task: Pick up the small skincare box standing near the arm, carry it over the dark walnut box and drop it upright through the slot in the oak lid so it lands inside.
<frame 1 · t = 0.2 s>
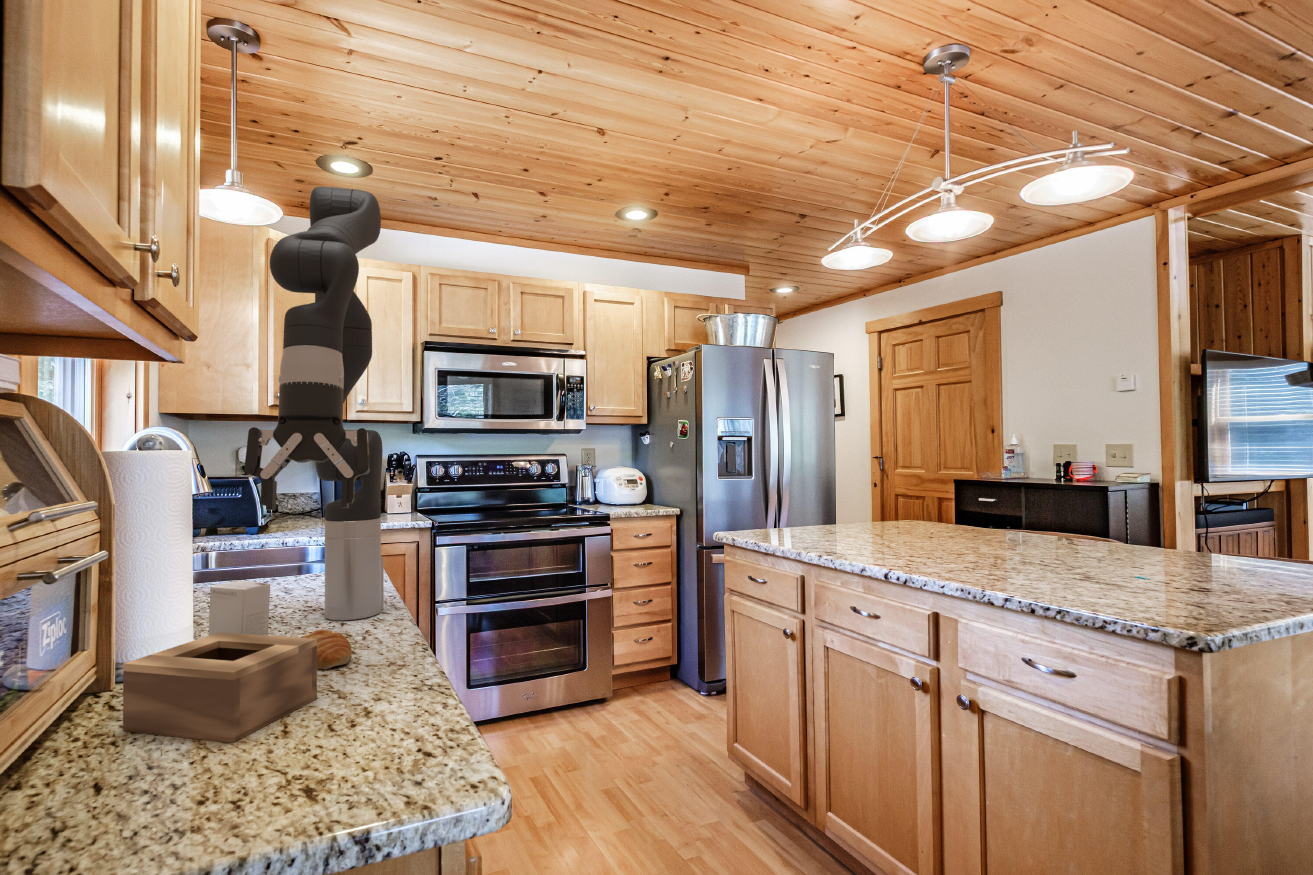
hand: (308, 508, 85), 22 cm above the countertop, fingers open, 8 cm apart
pastry: (326, 662, 94), on the countertop
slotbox: (225, 713, 75), on the countertop
skincare box: (238, 677, 88), on the countertop
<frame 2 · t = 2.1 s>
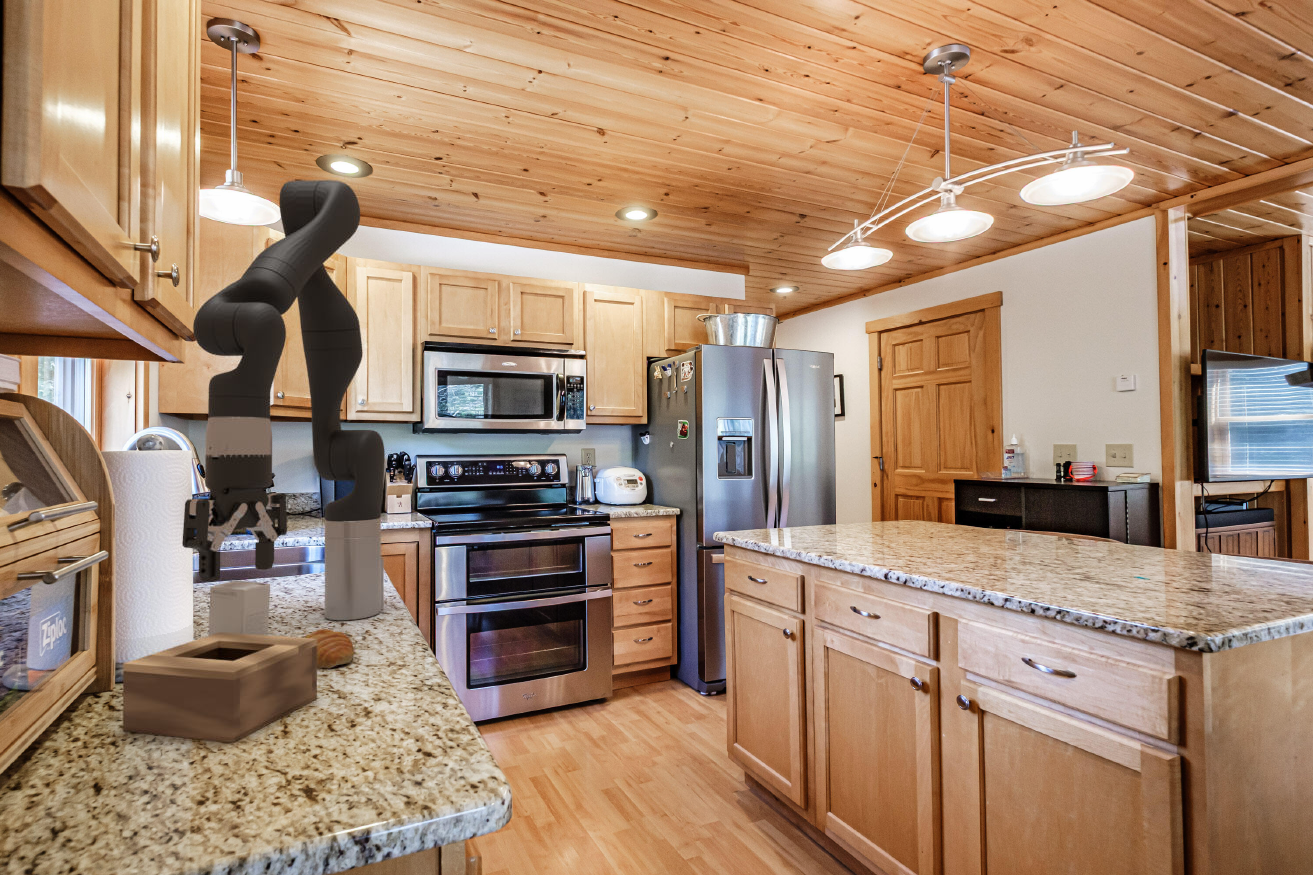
hand: (238, 574, 88), 13 cm above the countertop, fingers open, 8 cm apart
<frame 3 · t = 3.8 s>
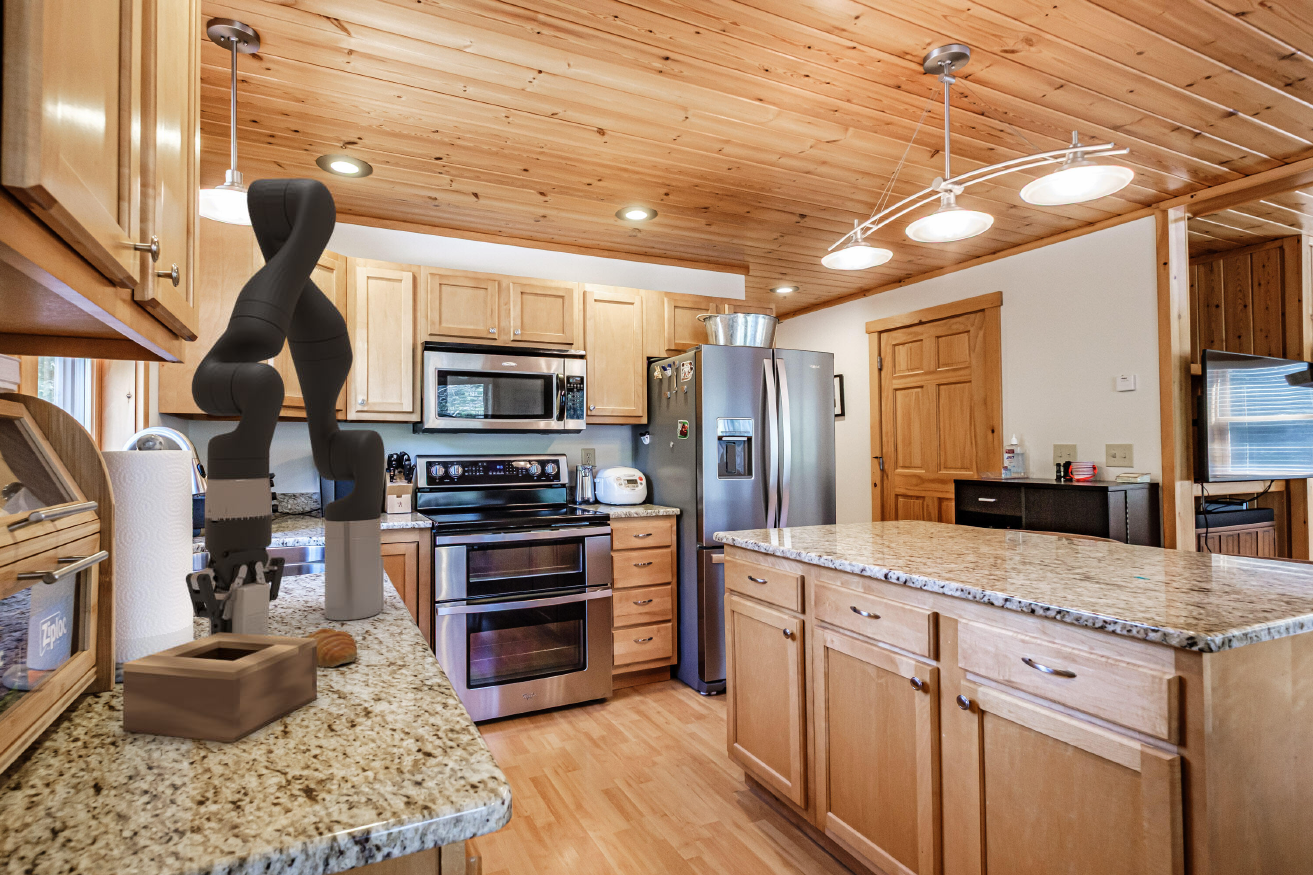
hand: (238, 641, 88), 5 cm above the countertop, fingers closed on skincare box, 4 cm apart
skincare box: (238, 676, 88), on the countertop, touching gripper
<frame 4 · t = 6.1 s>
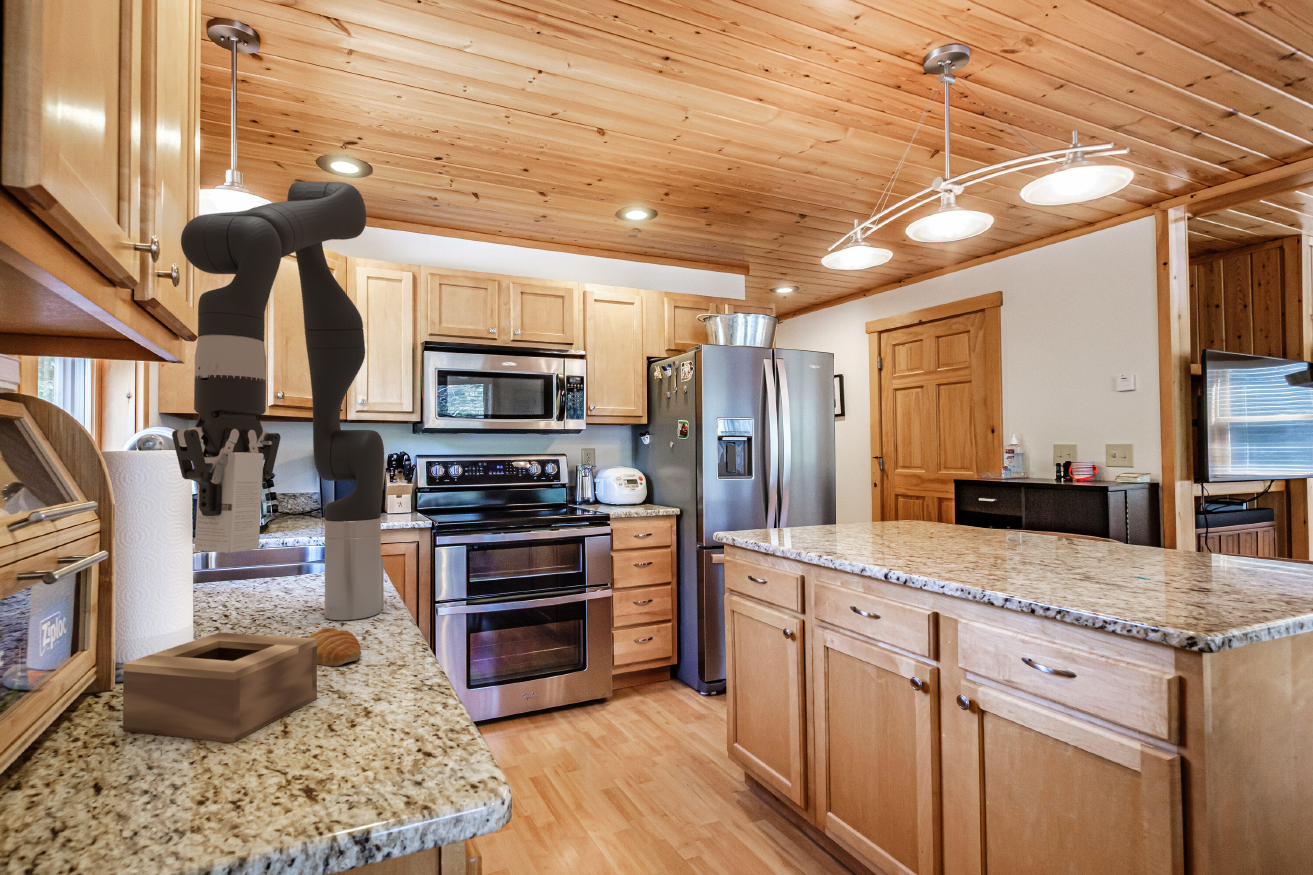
hand: (229, 513, 82), 22 cm above the countertop, fingers closed on skincare box, 4 cm apart
skincare box: (229, 551, 82), point 17 cm above the countertop, touching gripper
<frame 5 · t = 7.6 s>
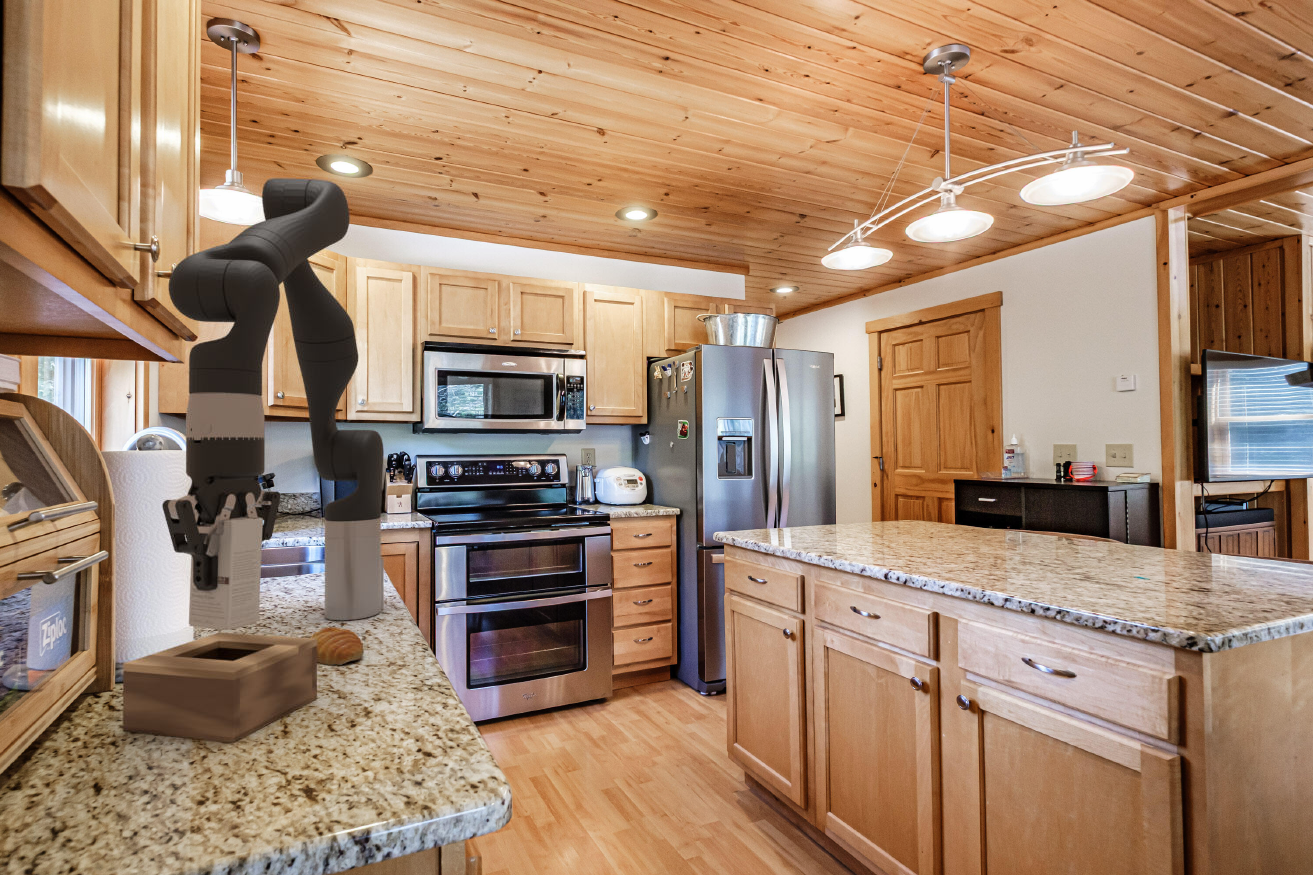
hand: (226, 584, 75), 15 cm above the countertop, fingers closed on skincare box, 4 cm apart
skincare box: (226, 625, 75), point 10 cm above the countertop, touching gripper
when the fingers open (14 cm above the countertop, at t = 8.5 s): skincare box drops 8 cm, resting on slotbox.
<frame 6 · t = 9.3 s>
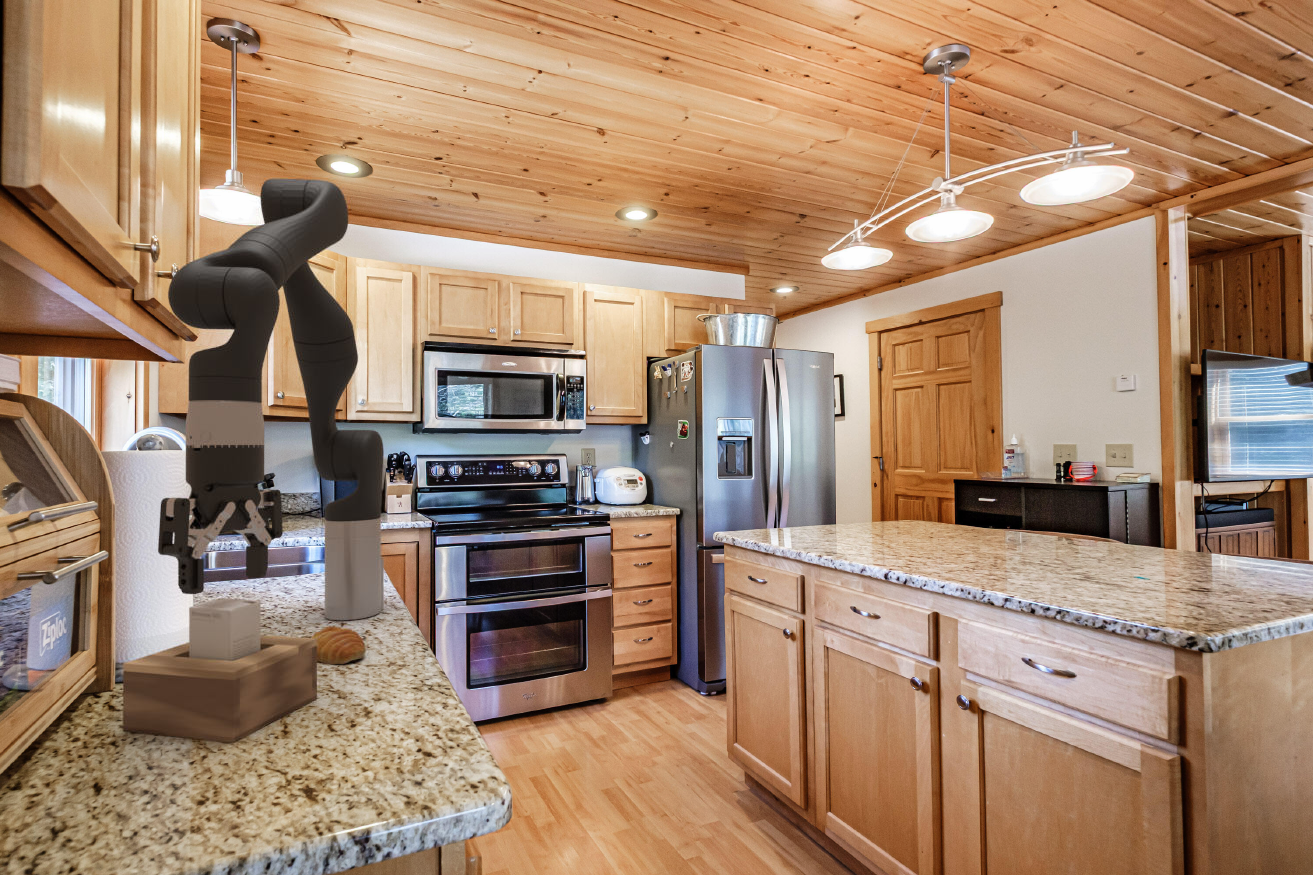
hand: (225, 584, 75), 15 cm above the countertop, fingers open, 8 cm apart
skincare box: (227, 711, 75), resting on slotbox
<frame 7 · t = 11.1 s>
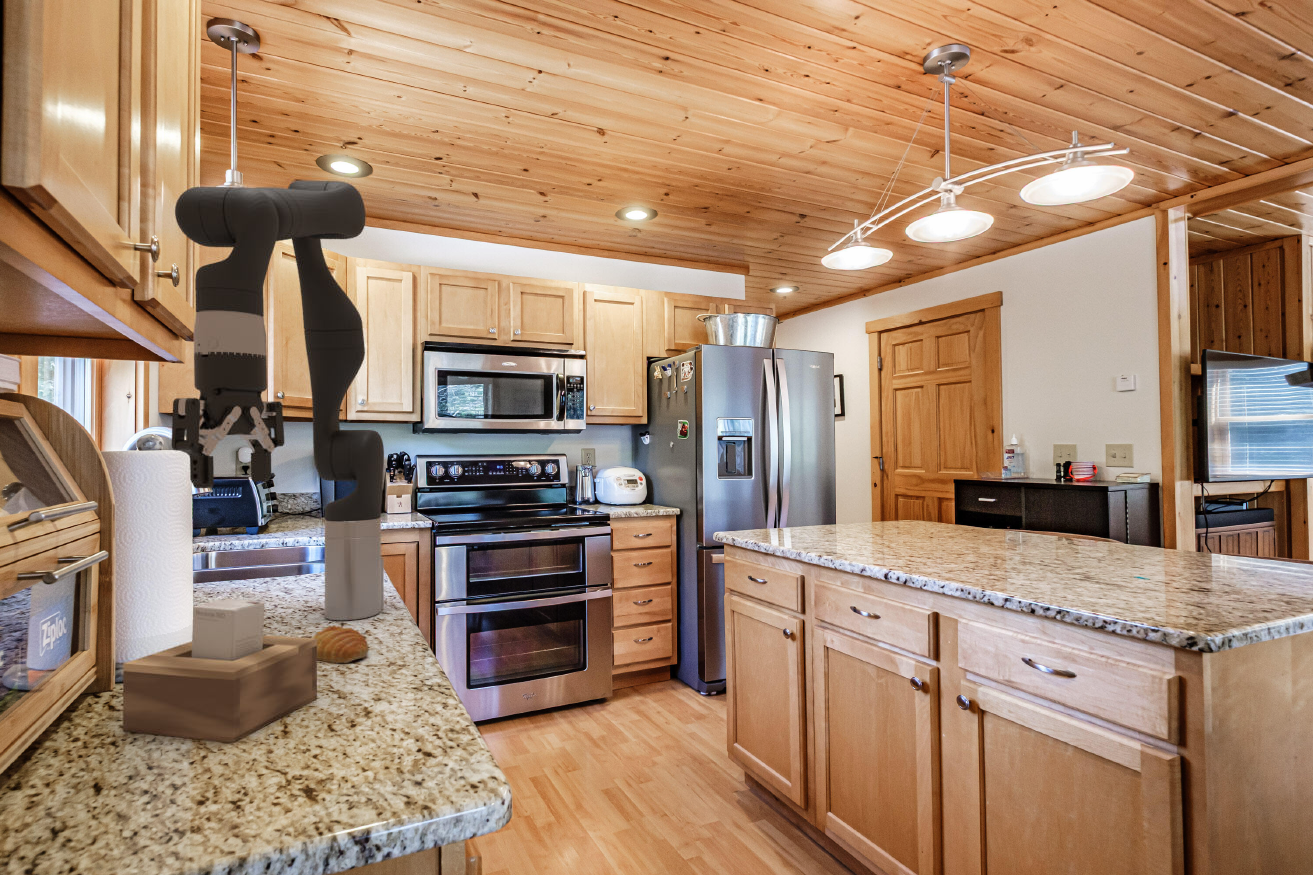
hand: (233, 484, 82), 26 cm above the countertop, fingers open, 8 cm apart
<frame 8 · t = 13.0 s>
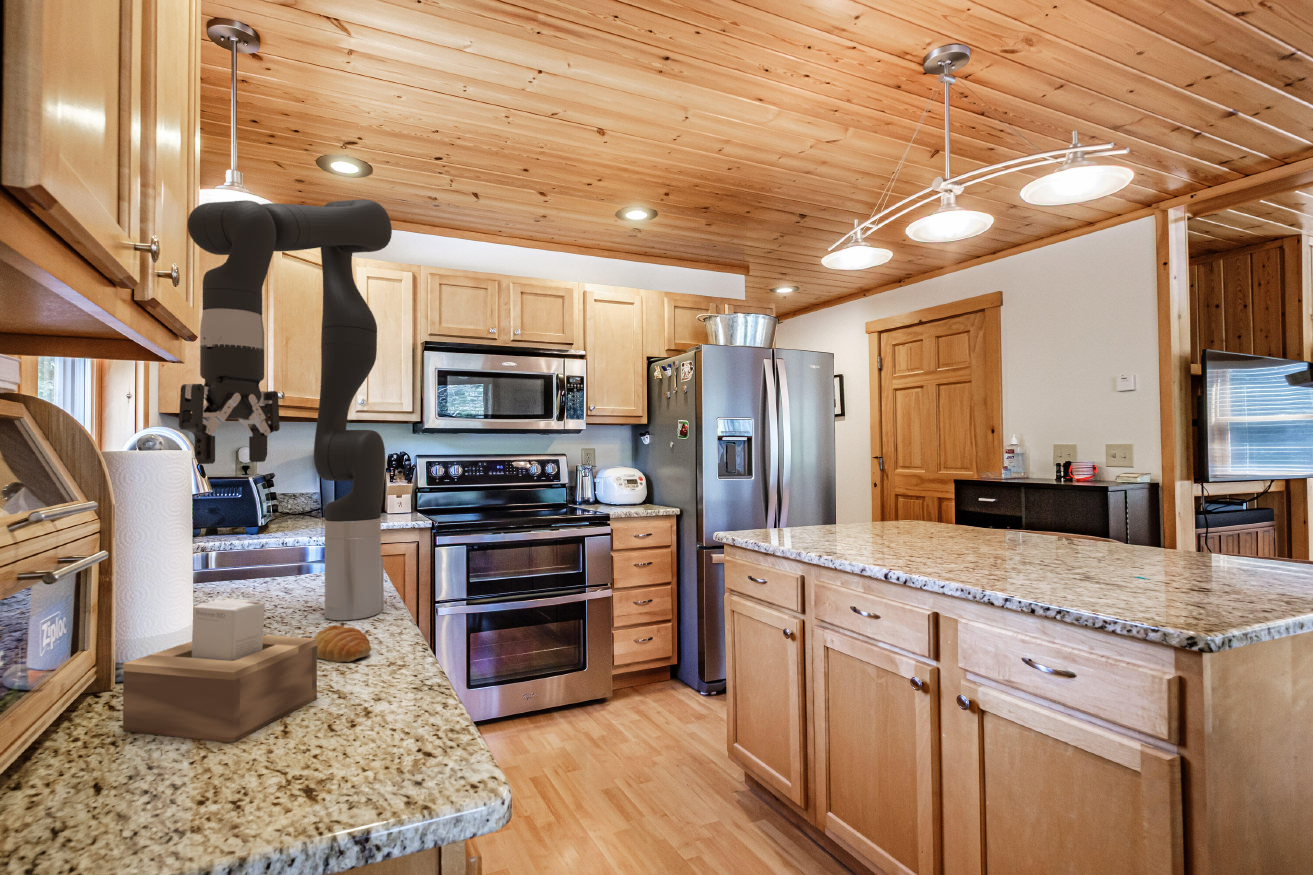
hand: (232, 462, 92), 28 cm above the countertop, fingers open, 8 cm apart
at the end: skincare box inside the target area on the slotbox (0.5 cm from its centre), point 0.3 cm above the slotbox's base; the gripper is holding nothing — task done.
